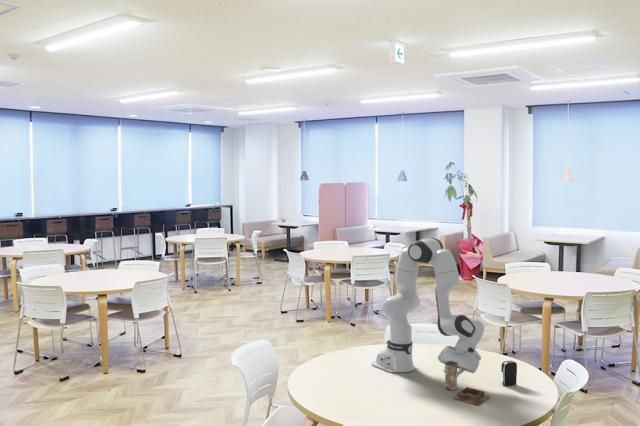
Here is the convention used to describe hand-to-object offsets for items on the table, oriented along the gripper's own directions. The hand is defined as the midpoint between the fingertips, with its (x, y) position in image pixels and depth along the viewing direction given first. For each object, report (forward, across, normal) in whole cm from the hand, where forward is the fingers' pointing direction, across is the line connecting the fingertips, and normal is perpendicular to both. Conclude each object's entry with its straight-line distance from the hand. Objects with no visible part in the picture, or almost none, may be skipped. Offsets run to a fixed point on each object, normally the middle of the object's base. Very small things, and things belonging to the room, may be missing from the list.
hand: (450, 374), depth 269 cm
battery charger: (-14, +14, +24) cm, 31 cm away
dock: (+6, +13, +4) cm, 15 cm away
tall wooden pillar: (+4, 0, +5) cm, 6 cm away
